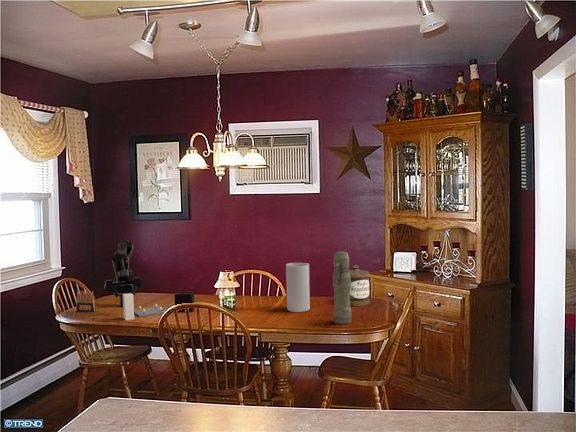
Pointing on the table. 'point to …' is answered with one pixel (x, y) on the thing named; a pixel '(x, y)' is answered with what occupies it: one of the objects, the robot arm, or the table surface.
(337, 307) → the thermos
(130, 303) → the cream block
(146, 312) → the mount plate
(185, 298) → the electronic device
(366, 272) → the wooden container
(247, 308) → the table surface
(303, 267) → the cylinder vase
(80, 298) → the ammunition clip
